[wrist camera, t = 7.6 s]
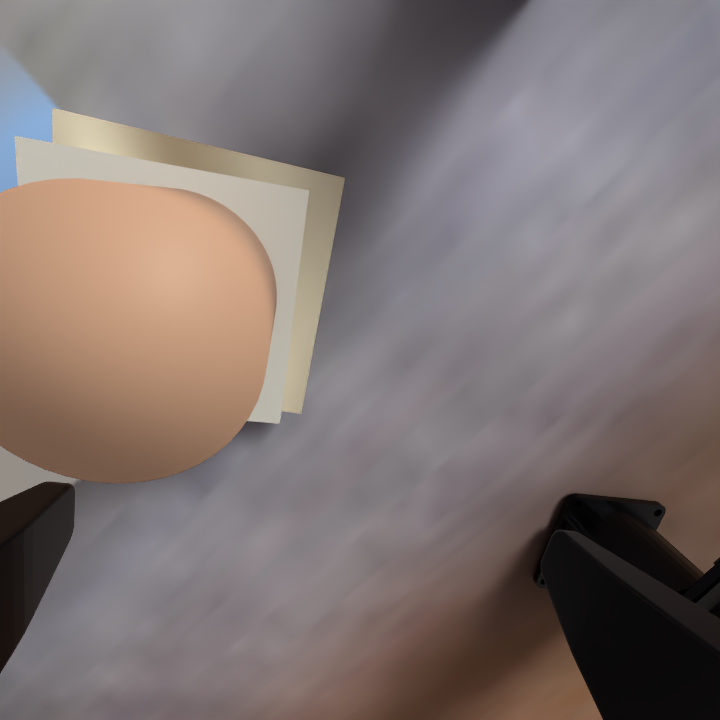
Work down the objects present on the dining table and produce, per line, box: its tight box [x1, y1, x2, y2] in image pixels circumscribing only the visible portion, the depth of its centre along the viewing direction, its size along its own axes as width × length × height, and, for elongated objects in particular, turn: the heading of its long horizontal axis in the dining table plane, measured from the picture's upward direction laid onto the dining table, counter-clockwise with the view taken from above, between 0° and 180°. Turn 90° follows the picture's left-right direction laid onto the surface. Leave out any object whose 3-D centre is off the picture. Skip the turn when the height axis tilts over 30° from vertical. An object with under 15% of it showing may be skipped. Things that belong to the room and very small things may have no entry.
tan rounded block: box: [0, 178, 277, 483], centre depth 10 cm, size 5×5×5 cm
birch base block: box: [53, 108, 345, 413], centre depth 17 cm, size 9×9×4 cm
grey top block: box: [15, 136, 309, 424], centre depth 14 cm, size 7×7×4 cm
